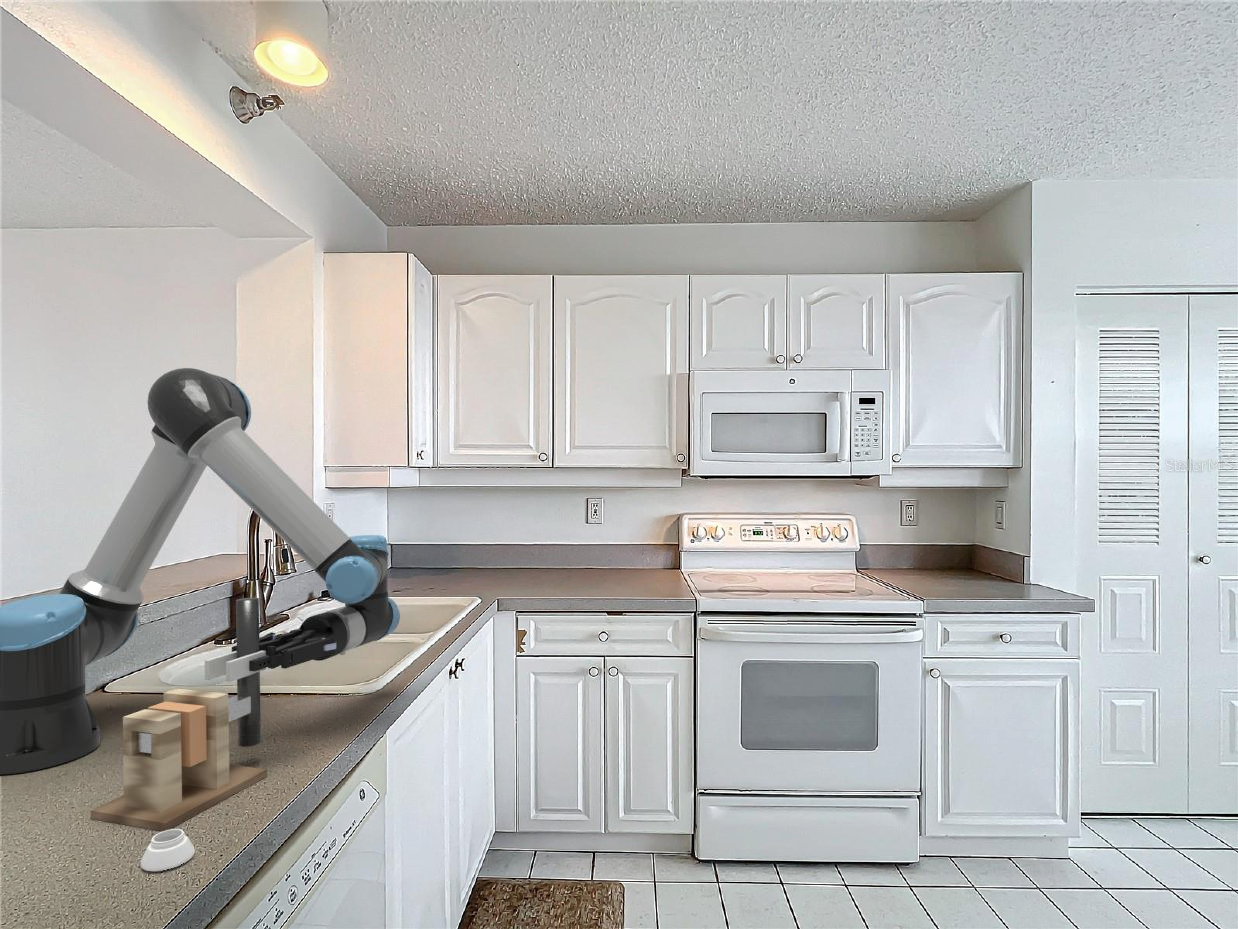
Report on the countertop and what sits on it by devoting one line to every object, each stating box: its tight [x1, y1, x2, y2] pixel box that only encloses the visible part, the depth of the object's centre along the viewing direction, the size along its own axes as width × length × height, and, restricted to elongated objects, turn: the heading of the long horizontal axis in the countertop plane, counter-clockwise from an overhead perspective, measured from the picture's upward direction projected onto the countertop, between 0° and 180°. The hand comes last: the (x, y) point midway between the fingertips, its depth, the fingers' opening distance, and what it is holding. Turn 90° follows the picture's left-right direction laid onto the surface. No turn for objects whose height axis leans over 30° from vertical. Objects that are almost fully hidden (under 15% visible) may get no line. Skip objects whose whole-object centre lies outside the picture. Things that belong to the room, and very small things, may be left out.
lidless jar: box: [140, 828, 196, 872], centre depth 81 cm, size 5×3×5 cm
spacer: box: [147, 701, 207, 767], centre depth 96 cm, size 7×2×7 cm, turn 73°
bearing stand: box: [90, 688, 268, 832], centre depth 96 cm, size 12×16×13 cm
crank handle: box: [138, 597, 262, 753], centre depth 100 cm, size 3×18×21 cm, turn 163°
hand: (217, 671), depth 102 cm, fingers closed on crank handle, 3 cm apart
